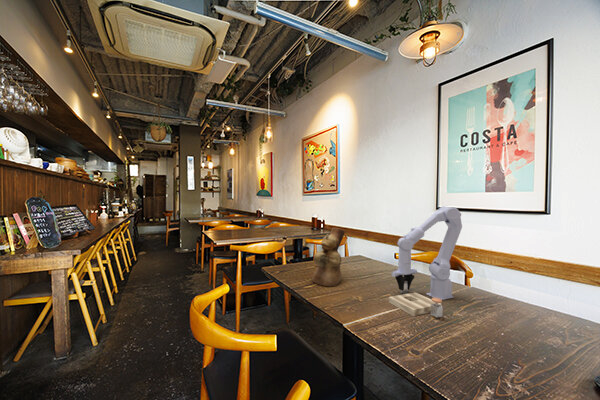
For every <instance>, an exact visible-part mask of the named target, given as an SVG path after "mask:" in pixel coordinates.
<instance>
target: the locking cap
mask: <svg viewBox="0 0 600 400" xmlns="http://www.w3.org/2000/svg"><path fill="white" fill-rule="evenodd" d="M431 300H432V301H433V302H435V306H436V307H438V303H440V304H442V303H443V300H441V299H440V298H436V297H431Z"/></svg>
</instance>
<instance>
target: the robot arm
mask: <svg viewBox="0 0 600 400" xmlns="http://www.w3.org/2000/svg"><path fill="white" fill-rule="evenodd" d="M461 216H462V212H460V210H459V209H458V208H456V207H454V206H451V207H450V206H441V207H439V208H438V209H437V210H435V211H434V212H433V214H431V215H430V216H429V217H428V218H427V219H425V221H424V222H423V223H422V224H420V225H419V226H415V227H412V228H410V231H409V232H408V233H406V234H404V235H403V237H400V238H399V239H398V241H397V243H396V244H397V246H398V262H397V263H398V267H397V269H396V270H395V271H394V270H393V271H391V277H393V278H395V280H396V282H397V286H398V289H399V291H401V290H402V291H403V289H404V282H405V280H408V291H409V290H410V288H411V285H412V282H413V280H414V279H415V275H417V273H418V270H417V269H415V268H413V269H412V265H411V264H412V249H413V248H414V245H415V244H416V243H418V242H419V241H420V240H421V239H423V237H424V236H425V232H427V231H428V230H429V229H430V228H432V227H433V226H434V225H435V224H437V223H438V222H439V223H440V222H444V223H445V224H446V226H447V230H446V232H445V235H444V237H443V240H442V243H441V246H440V248H439V251H438V254H437V256H436V257H435V258H433V261H432V262H431V263H430V264H429V266H428V271H429V273H430V283H429V284H430V285H429V286H430V287H429V288H430V289H429V290H430V291H429V292H426V293H425V295H426V296H429V297H431V298H433V297H436V298H440V299H441V300H442V301H443V300H448V299H453V298H454V296H453V283H452V280H451V279H450V276H451V270H450V269H451V262H450V261H451V257H452V255H453V253H454V250H455V247H456V245H457V242H458V239H459V237H460V234H461V231H462V228H463V224H462V217H461Z"/></svg>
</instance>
